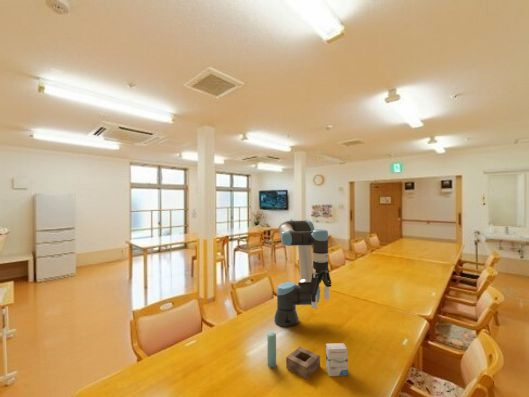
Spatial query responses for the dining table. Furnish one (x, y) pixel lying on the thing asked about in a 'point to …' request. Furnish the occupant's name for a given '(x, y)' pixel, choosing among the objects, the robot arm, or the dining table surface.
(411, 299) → the dining table surface
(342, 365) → the ink box
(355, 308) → the dining table surface
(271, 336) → the peg
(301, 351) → the socket block
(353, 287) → the dining table surface
